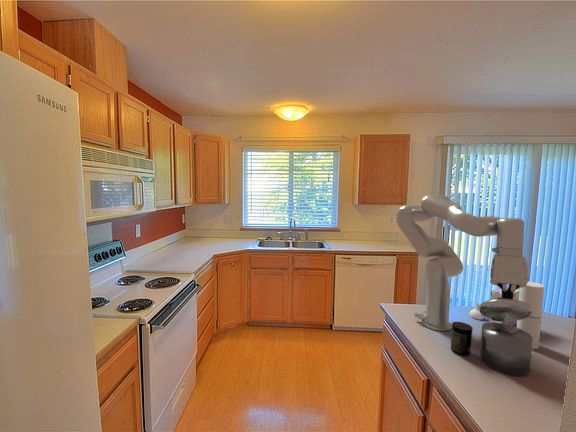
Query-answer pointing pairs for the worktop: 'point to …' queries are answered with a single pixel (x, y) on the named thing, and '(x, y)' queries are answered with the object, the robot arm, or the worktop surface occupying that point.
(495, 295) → the candy box
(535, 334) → the cylindrical container
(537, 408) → the worktop surface
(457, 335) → the supplement container
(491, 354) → the dark grey rounded block
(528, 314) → the round plate
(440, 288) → the robot arm
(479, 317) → the garlic bulb
